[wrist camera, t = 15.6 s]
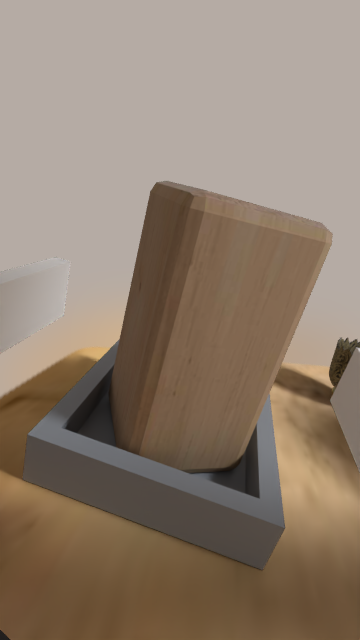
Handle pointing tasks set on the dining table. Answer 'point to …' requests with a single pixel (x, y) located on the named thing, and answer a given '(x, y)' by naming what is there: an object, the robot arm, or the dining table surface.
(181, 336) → the wooden block
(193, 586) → the dining table surface
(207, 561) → the dining table surface
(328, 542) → the dining table surface
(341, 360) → the cup
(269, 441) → the gray square tray
